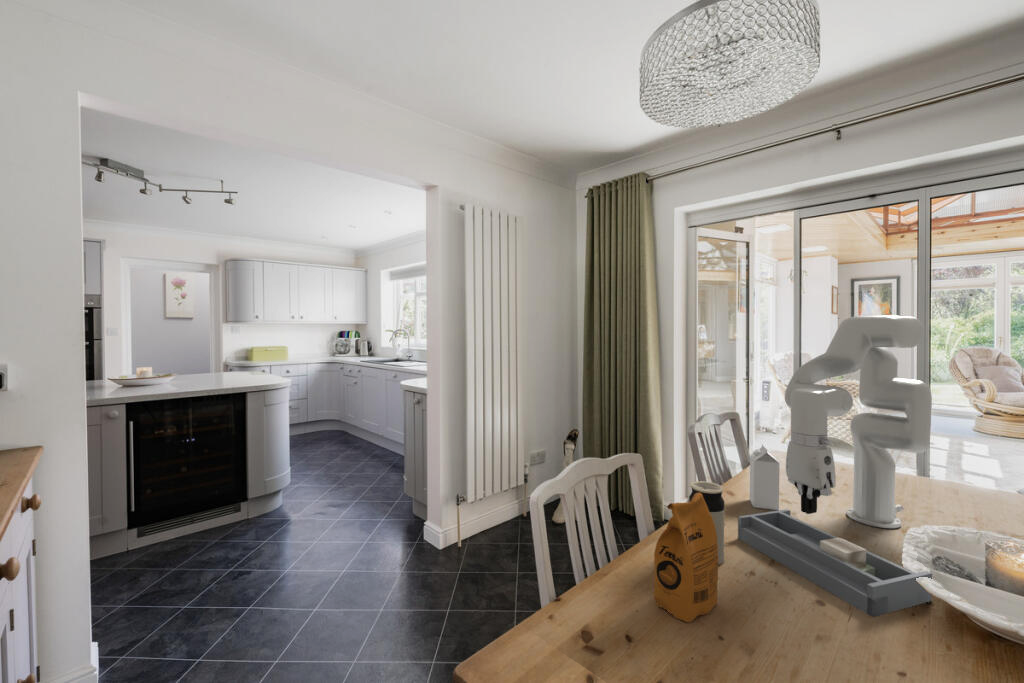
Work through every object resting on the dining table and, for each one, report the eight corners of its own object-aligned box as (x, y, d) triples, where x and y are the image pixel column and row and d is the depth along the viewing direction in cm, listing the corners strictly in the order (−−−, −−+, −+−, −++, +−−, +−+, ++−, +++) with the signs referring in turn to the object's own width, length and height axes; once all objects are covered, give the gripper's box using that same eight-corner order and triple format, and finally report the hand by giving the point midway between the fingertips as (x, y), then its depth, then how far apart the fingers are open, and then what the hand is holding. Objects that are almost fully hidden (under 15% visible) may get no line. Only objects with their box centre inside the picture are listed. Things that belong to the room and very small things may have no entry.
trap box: (787, 530, 124) (787, 509, 124) (931, 601, 91) (932, 573, 91) (738, 538, 119) (738, 516, 119) (872, 617, 86) (872, 587, 86)
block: (839, 554, 104) (839, 537, 104) (865, 567, 98) (866, 549, 98) (819, 557, 102) (820, 540, 102) (845, 571, 96) (846, 553, 96)
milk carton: (773, 502, 144) (774, 444, 143) (779, 510, 137) (779, 450, 137) (749, 499, 146) (750, 443, 146) (753, 507, 139) (754, 448, 139)
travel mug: (696, 546, 115) (697, 478, 114) (728, 558, 109) (729, 486, 108) (683, 558, 109) (683, 486, 109) (716, 570, 103) (717, 494, 103)
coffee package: (645, 601, 92) (646, 497, 91) (683, 583, 98) (684, 485, 98) (687, 629, 83) (688, 514, 83) (725, 606, 90) (726, 500, 89)
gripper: (851, 445, 102) (850, 522, 103) (793, 430, 117) (793, 498, 117) (826, 449, 100) (826, 527, 101) (770, 433, 114) (771, 502, 115)
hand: (808, 511), depth 109 cm, fingers closed
